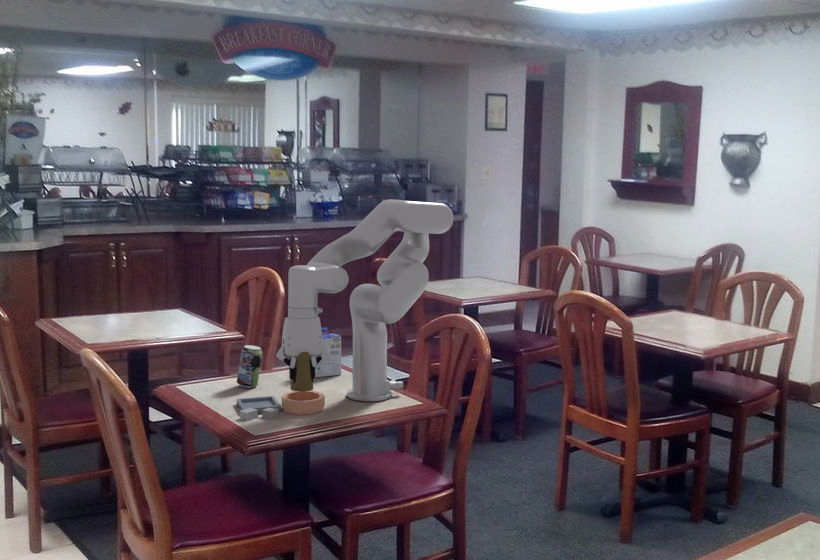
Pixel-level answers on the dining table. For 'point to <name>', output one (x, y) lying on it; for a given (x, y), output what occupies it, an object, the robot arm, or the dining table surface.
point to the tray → (258, 403)
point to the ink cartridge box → (330, 355)
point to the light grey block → (248, 414)
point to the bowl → (303, 402)
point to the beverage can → (249, 366)
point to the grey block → (270, 413)
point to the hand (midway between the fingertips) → (302, 380)
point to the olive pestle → (302, 373)
